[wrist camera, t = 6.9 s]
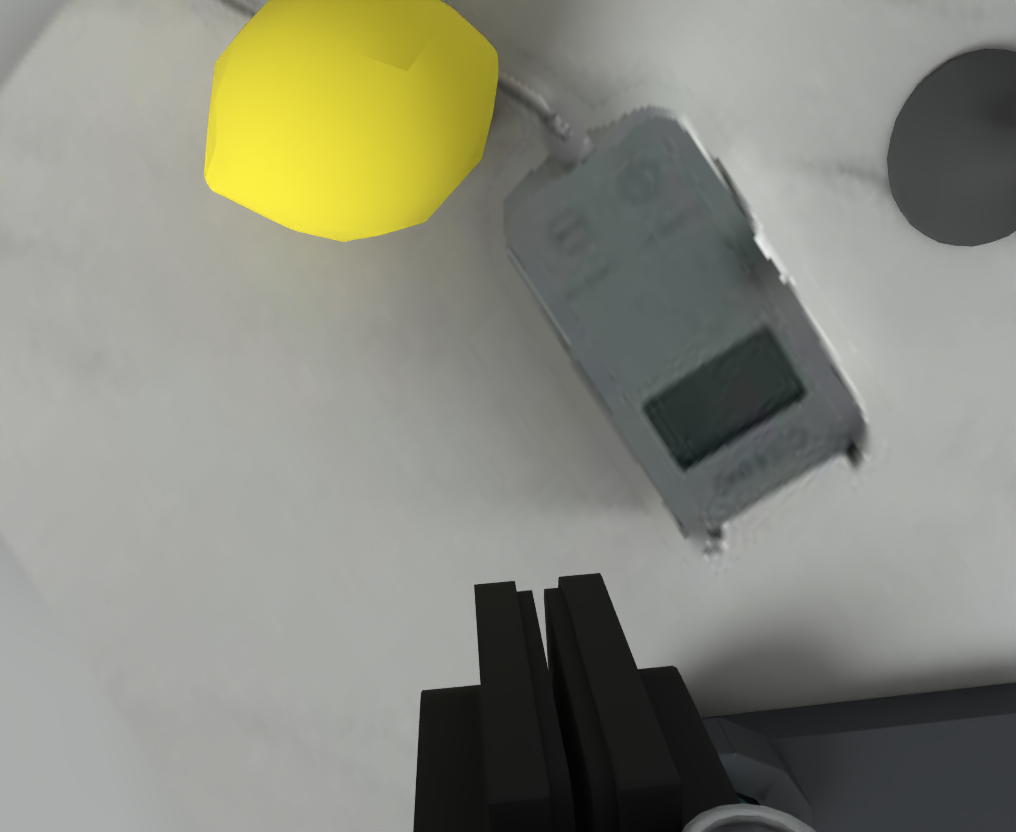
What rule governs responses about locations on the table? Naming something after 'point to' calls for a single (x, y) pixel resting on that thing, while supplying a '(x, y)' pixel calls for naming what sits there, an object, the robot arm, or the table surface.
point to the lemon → (349, 113)
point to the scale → (880, 761)
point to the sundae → (959, 151)
